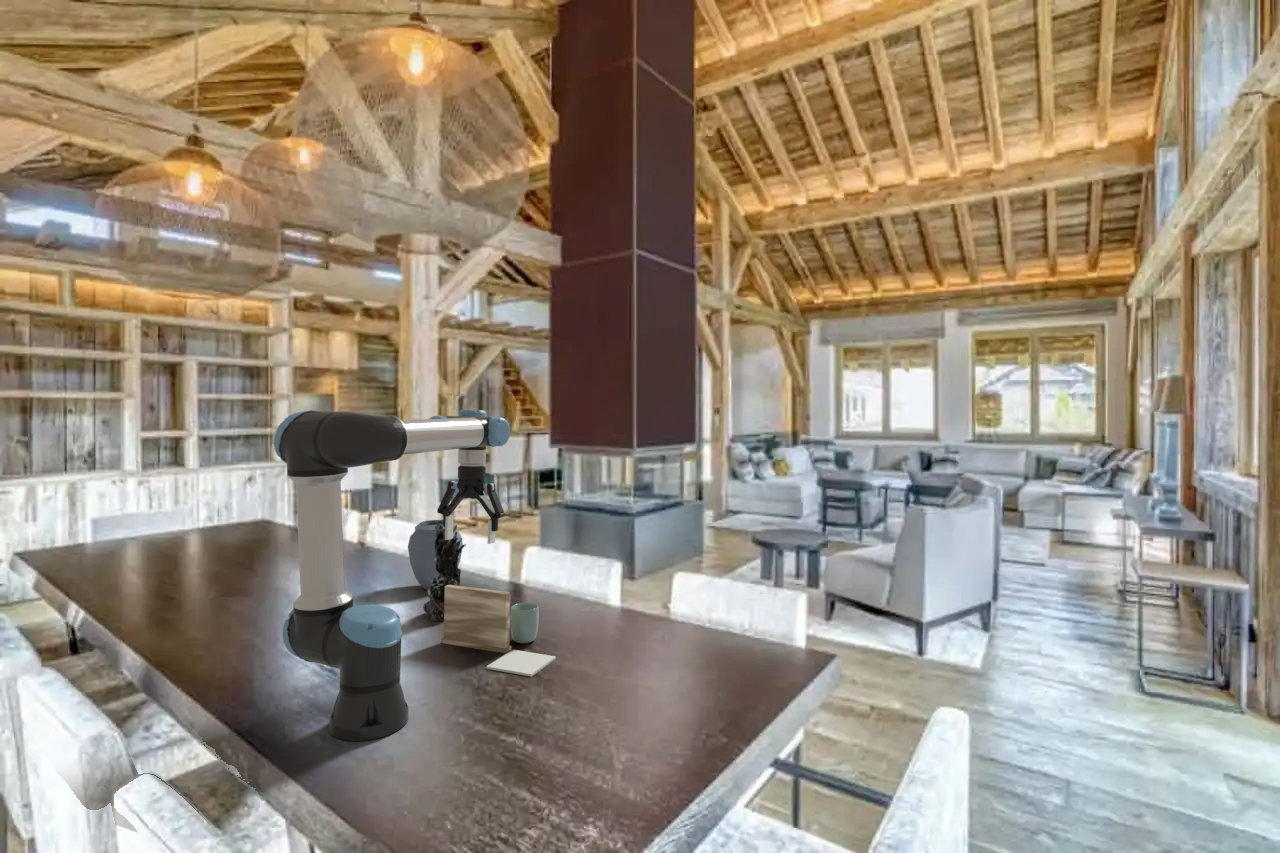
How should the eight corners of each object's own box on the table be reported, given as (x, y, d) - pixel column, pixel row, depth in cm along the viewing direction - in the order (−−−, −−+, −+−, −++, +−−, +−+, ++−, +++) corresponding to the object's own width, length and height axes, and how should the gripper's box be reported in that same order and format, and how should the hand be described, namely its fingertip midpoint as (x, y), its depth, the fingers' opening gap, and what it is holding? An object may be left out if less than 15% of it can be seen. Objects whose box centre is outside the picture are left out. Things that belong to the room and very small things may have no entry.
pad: (531, 676, 162) (531, 674, 162) (486, 668, 166) (486, 666, 166) (555, 658, 174) (555, 656, 174) (513, 651, 178) (513, 649, 178)
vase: (408, 582, 248) (409, 518, 248) (461, 580, 254) (462, 517, 254) (406, 596, 230) (407, 527, 229) (463, 593, 236) (464, 525, 235)
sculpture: (410, 621, 203) (411, 525, 202) (436, 607, 217) (437, 517, 217) (451, 625, 199) (453, 527, 199) (475, 611, 214) (477, 520, 214)
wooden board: (505, 653, 177) (506, 594, 177) (441, 643, 184) (442, 586, 184) (511, 650, 180) (512, 592, 179) (447, 639, 187) (448, 584, 187)
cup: (532, 647, 182) (532, 611, 182) (505, 644, 184) (506, 609, 184) (541, 638, 190) (542, 603, 190) (516, 635, 192) (517, 601, 191)
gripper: (518, 466, 182) (516, 542, 182) (441, 462, 190) (439, 535, 190) (504, 467, 175) (502, 546, 175) (425, 463, 183) (423, 539, 183)
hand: (469, 541), depth 183 cm, fingers open, 13 cm apart
